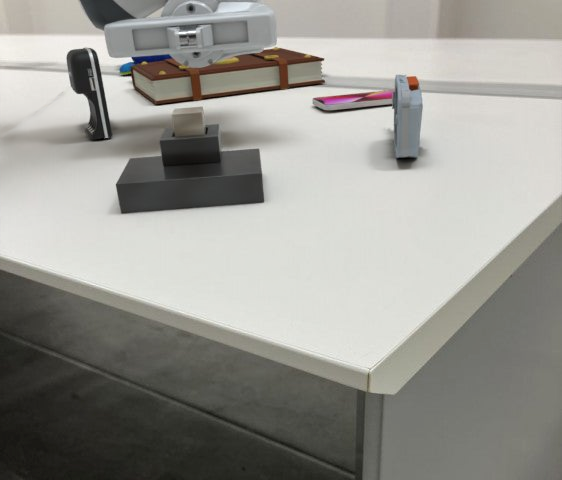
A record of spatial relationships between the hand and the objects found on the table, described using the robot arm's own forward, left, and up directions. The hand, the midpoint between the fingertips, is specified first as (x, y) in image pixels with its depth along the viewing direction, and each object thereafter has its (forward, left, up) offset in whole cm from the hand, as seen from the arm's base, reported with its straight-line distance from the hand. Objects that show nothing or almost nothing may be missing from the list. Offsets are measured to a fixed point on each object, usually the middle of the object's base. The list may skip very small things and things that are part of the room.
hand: (188, 40), depth 75 cm
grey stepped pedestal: (0, -14, -13) cm, 19 cm away
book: (+2, +55, -13) cm, 57 cm away
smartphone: (+24, +27, -13) cm, 39 cm away
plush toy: (-14, +85, -13) cm, 88 cm away
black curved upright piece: (-16, +18, -13) cm, 28 cm away
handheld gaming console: (+24, -4, -13) cm, 28 cm away
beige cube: (0, -10, -8) cm, 13 cm away
